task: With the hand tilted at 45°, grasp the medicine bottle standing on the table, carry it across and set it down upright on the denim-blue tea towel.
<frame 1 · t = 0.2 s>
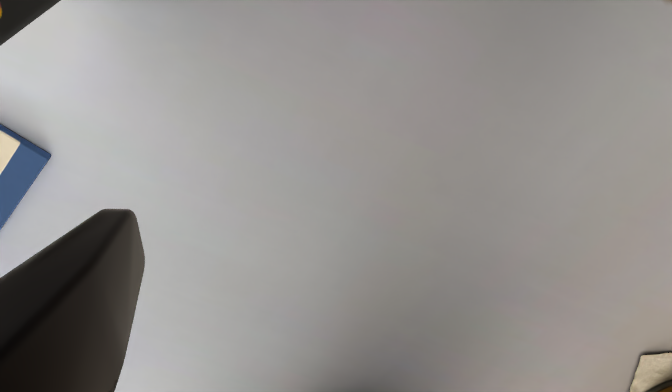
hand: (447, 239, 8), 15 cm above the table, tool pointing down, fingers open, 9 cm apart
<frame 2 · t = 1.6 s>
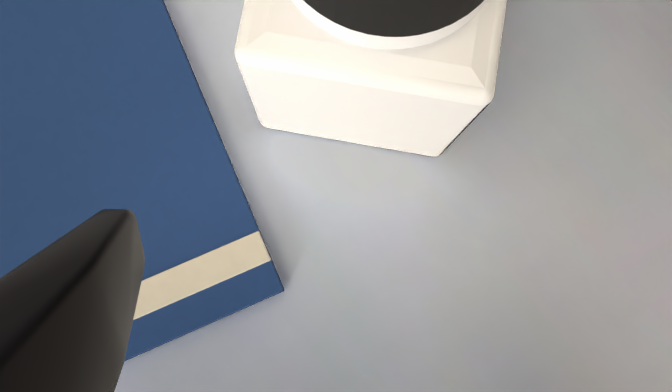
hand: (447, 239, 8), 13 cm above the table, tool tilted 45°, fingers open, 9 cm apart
medicine bottle: (364, 59, 23), on the table
cloth: (1, 127, 22), on the table
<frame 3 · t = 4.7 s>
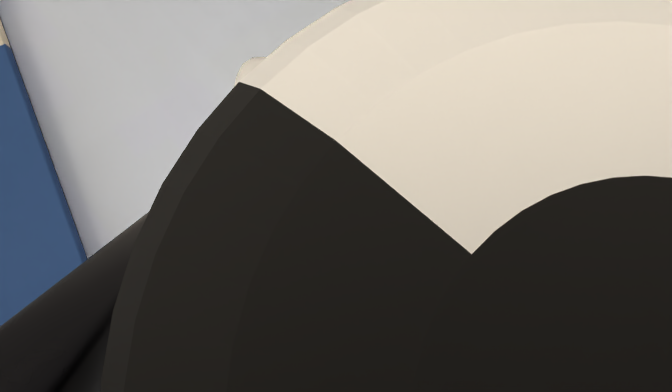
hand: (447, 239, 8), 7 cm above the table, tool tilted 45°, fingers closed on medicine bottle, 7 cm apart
medicine bottle: (385, 317, 15), on the table, touching gripper
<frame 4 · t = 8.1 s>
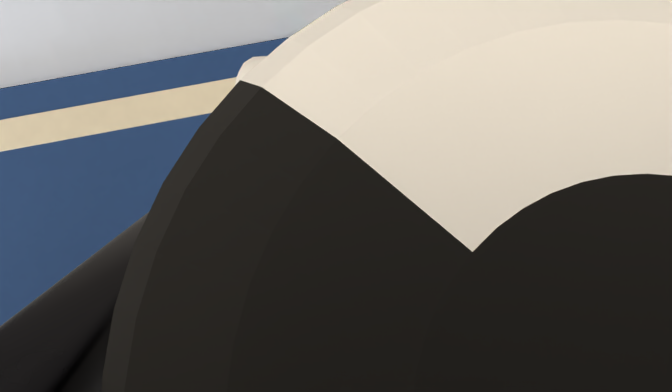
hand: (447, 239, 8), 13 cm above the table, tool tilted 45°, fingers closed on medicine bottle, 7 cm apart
medicine bottle: (385, 316, 15), point 6 cm above the table, touching gripper
cloth: (169, 334, 20), on the table
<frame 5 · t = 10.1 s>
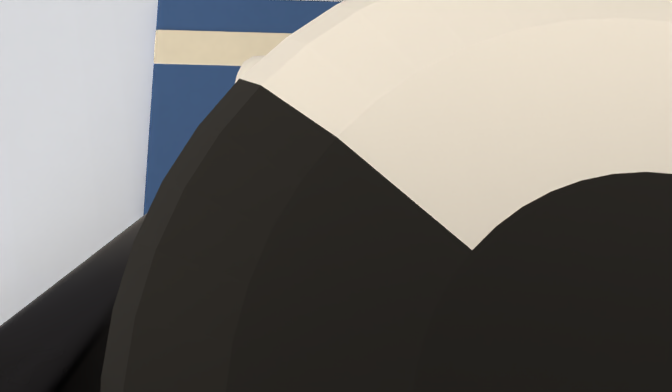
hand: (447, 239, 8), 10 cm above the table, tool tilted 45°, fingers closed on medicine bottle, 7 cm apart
medicine bottle: (385, 316, 15), point 4 cm above the table, touching gripper
cloth: (377, 300, 18), on the table
when the fingers open (7 cm above the table, at t = 11.7 s): medicine bottle stays where it is, resting on cloth.
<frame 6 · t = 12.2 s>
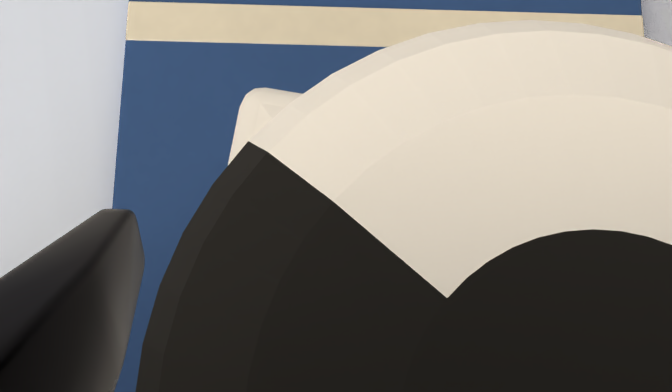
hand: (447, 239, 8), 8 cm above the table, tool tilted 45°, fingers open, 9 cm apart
medicine bottle: (383, 324, 15), resting on cloth
cloth: (386, 316, 16), on the table
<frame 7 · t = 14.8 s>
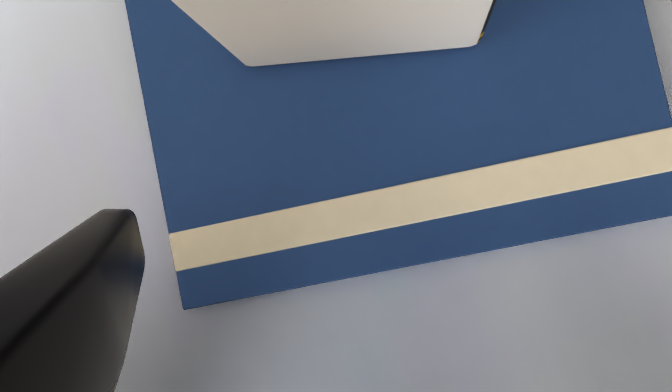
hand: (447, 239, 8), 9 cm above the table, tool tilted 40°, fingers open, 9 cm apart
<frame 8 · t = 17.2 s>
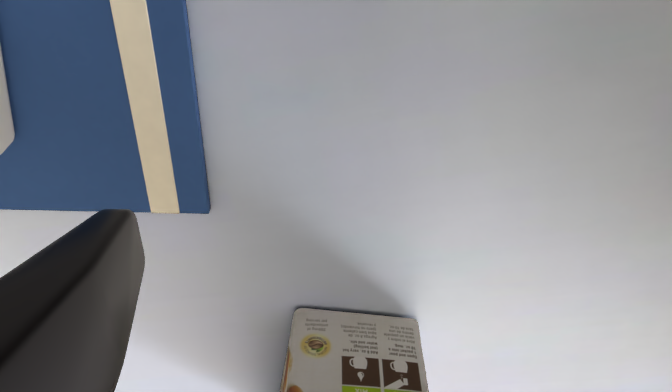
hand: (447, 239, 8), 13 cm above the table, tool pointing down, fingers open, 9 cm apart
coffee box: (341, 366, 31), on the table
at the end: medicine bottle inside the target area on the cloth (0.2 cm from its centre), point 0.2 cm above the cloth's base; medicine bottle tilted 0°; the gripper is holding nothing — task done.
